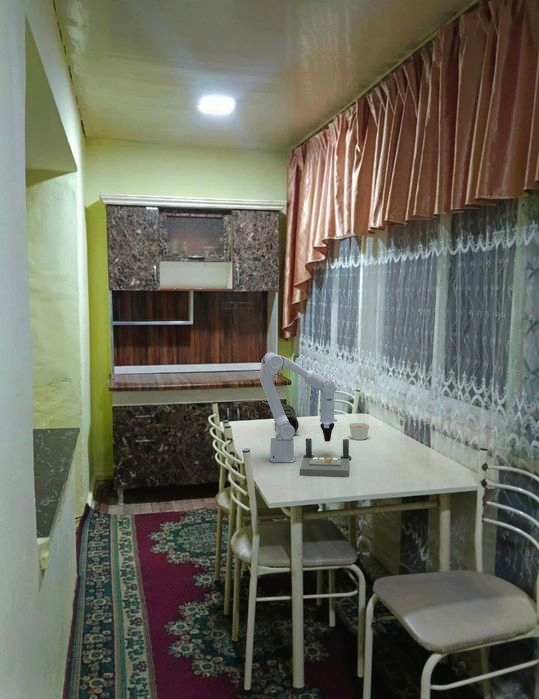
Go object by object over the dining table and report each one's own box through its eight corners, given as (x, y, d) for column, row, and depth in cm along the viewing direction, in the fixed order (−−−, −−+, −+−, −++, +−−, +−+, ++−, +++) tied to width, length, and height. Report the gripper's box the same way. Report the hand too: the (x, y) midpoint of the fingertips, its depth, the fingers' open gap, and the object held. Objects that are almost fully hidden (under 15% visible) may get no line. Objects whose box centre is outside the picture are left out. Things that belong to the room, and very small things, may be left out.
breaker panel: (300, 475, 216) (299, 463, 215) (303, 464, 229) (303, 452, 229) (348, 476, 213) (348, 464, 212) (349, 465, 227) (349, 453, 226)
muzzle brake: (279, 437, 271) (278, 415, 270) (276, 423, 299) (276, 403, 298) (299, 436, 272) (299, 415, 270) (294, 422, 299) (294, 403, 298)
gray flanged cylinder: (303, 459, 235) (302, 440, 234) (304, 456, 239) (303, 437, 239) (313, 460, 234) (313, 440, 234) (314, 456, 239) (314, 437, 238)
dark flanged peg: (340, 460, 233) (340, 441, 232) (340, 457, 237) (340, 438, 236) (351, 461, 232) (351, 441, 231) (351, 457, 237) (351, 438, 236)
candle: (367, 441, 261) (367, 427, 260) (347, 440, 263) (347, 426, 263) (370, 436, 269) (370, 423, 268) (351, 435, 272) (351, 422, 271)
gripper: (336, 412, 229) (336, 446, 231) (337, 405, 243) (337, 436, 245) (318, 412, 230) (319, 445, 232) (320, 405, 245) (321, 436, 246)
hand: (327, 441), depth 238 cm, fingers closed
